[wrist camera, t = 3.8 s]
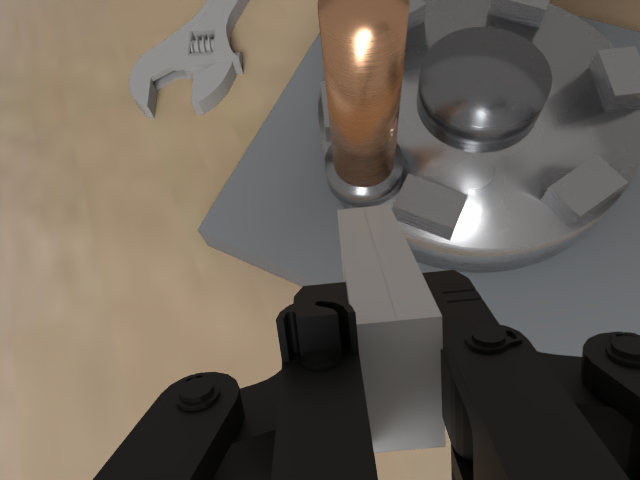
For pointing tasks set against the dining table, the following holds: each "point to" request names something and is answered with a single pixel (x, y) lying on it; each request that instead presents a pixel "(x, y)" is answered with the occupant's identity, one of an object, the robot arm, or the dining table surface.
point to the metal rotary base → (477, 124)
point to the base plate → (494, 287)
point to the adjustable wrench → (192, 59)
